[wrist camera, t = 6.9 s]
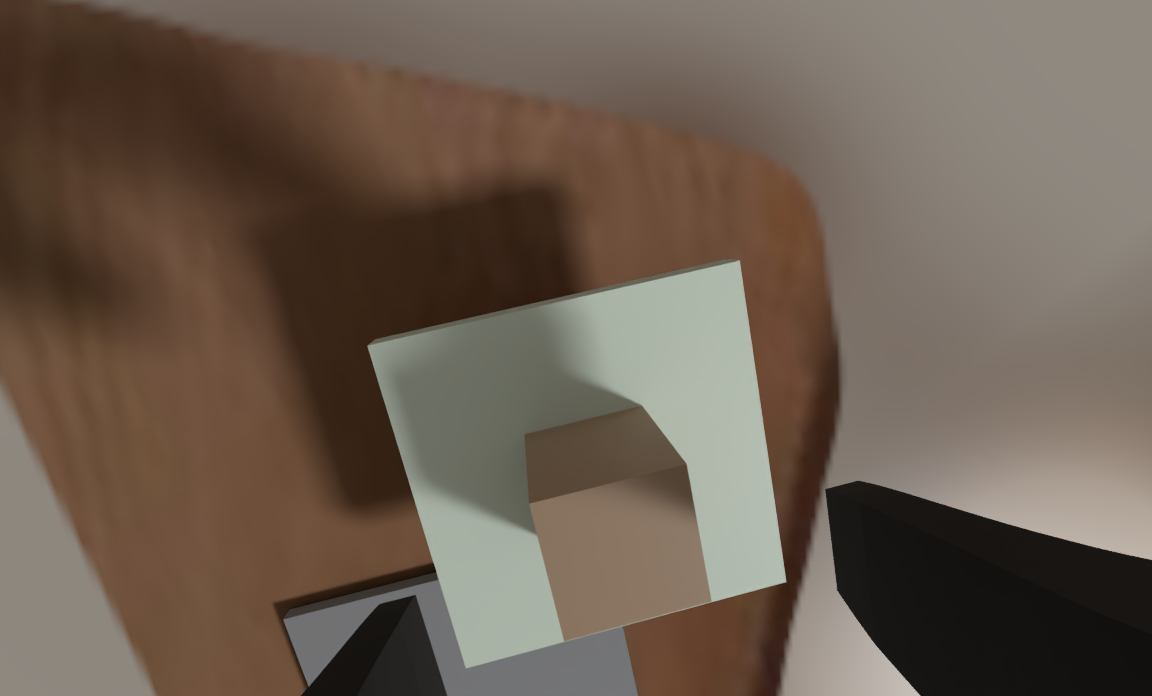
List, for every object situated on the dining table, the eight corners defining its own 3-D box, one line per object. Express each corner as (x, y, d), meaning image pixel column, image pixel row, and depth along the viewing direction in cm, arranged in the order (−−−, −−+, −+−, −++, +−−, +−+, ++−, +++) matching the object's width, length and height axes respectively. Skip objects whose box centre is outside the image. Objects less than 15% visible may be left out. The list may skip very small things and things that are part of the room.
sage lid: (772, 565, 16) (867, 684, 12) (468, 646, 16) (451, 804, 11) (727, 258, 14) (820, 270, 10) (375, 339, 14) (312, 388, 9)
